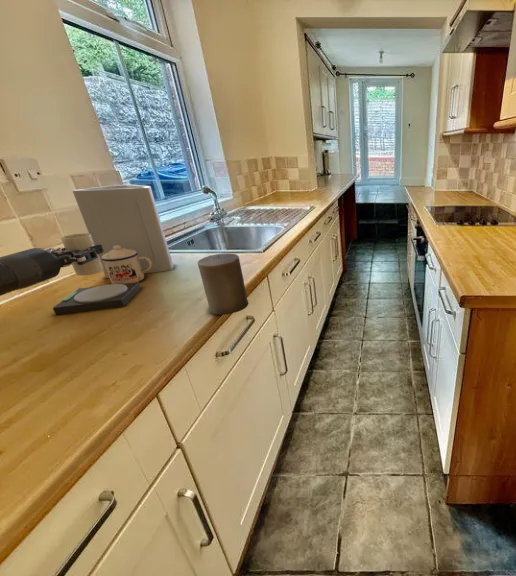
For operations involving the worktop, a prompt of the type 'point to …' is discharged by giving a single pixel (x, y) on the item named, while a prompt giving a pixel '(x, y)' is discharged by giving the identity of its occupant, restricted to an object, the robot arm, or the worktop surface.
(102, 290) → the scale
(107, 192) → the light grey box
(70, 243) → the cup
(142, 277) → the teacup with lid
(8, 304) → the worktop surface
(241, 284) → the pillar candle
